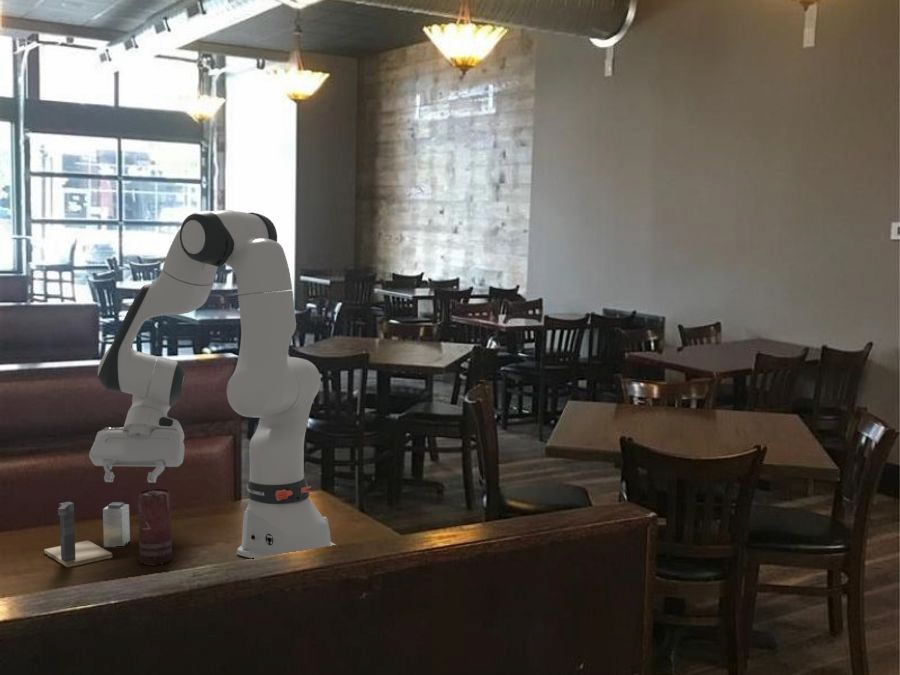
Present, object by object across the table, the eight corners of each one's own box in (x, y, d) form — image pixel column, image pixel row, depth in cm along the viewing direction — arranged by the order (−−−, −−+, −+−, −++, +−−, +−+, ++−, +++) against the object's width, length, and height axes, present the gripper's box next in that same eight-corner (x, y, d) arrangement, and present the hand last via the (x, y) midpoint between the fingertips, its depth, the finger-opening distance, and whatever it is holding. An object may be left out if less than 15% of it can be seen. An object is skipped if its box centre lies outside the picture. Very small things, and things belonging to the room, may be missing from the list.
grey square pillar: (129, 541, 202) (128, 501, 201) (122, 547, 198) (121, 506, 197) (111, 541, 202) (110, 501, 201) (103, 546, 198) (102, 506, 197)
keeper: (115, 558, 190) (113, 499, 189) (61, 570, 183) (59, 509, 182) (88, 544, 200) (86, 487, 199) (35, 554, 193) (33, 496, 192)
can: (163, 566, 186) (162, 496, 184) (134, 564, 187) (132, 494, 186) (178, 557, 192) (177, 488, 190) (149, 555, 193) (148, 487, 192)
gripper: (94, 419, 214) (77, 472, 205) (185, 420, 213) (171, 473, 204) (103, 435, 219) (86, 487, 210) (191, 436, 218) (178, 489, 209)
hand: (129, 481), depth 207 cm, fingers open, 8 cm apart
